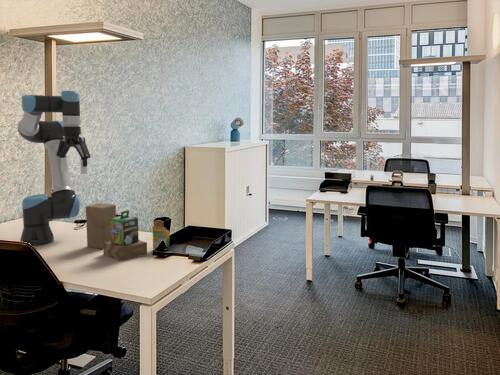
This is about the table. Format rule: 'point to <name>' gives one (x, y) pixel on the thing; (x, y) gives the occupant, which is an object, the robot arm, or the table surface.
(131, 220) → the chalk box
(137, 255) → the walnut block
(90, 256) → the table surface
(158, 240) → the crayon box
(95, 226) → the wooden block
